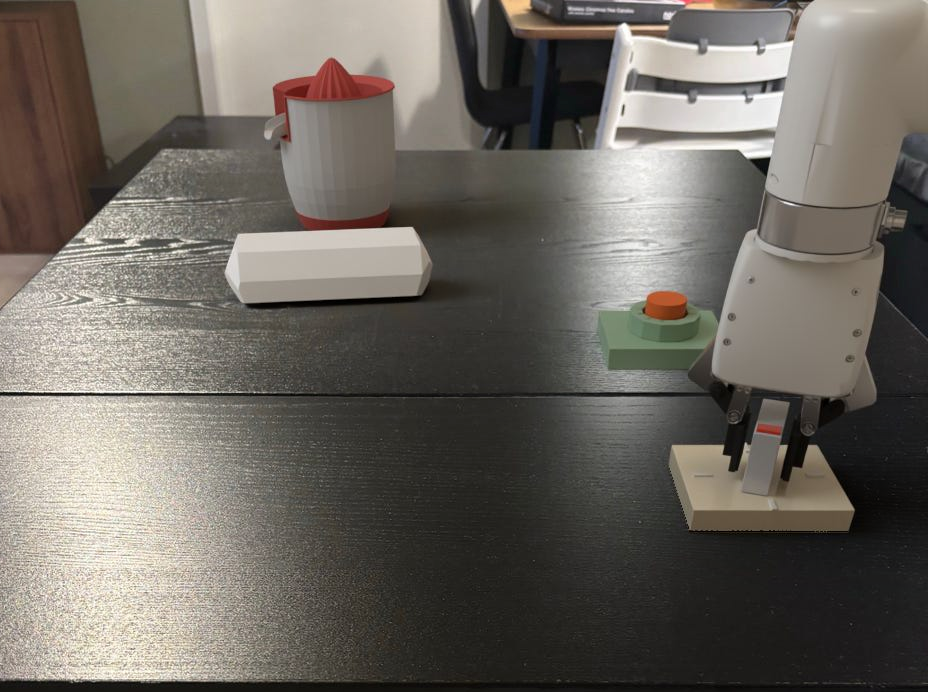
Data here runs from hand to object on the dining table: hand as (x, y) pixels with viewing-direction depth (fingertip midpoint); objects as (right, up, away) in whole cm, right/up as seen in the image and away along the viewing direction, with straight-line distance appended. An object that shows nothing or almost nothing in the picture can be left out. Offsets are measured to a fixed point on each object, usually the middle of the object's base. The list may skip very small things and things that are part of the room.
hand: (760, 466), depth 73 cm
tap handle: (0, -1, 0) cm, 1 cm away
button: (-2, +19, +22) cm, 29 cm away
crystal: (-38, +27, +37) cm, 60 cm away
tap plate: (0, -2, +2) cm, 3 cm away
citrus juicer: (-40, +44, +57) cm, 82 cm away
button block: (-2, +17, +24) cm, 29 cm away
